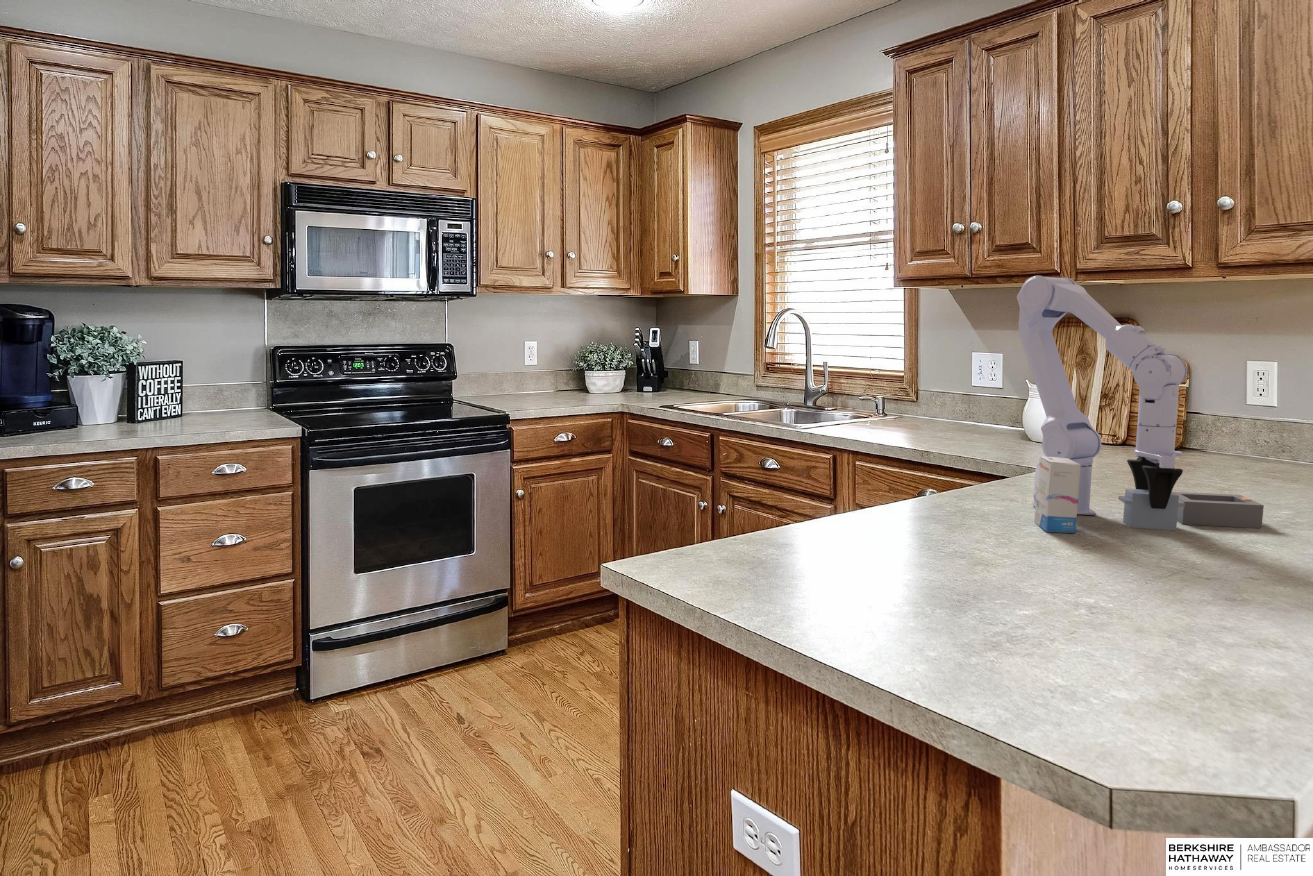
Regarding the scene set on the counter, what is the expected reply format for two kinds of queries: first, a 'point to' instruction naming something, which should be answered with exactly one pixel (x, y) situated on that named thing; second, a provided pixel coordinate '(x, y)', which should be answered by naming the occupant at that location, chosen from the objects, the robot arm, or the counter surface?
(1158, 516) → the servo
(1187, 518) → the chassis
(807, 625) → the counter surface
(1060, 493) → the ink box
